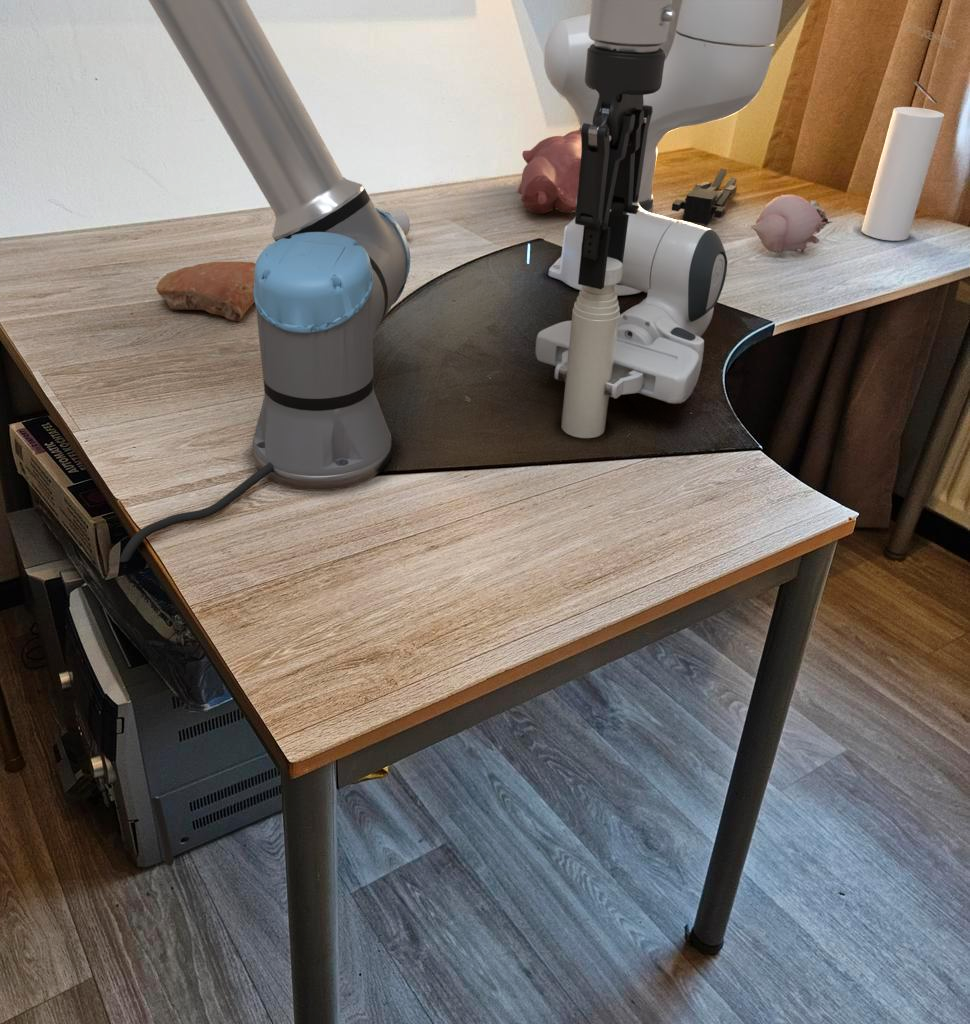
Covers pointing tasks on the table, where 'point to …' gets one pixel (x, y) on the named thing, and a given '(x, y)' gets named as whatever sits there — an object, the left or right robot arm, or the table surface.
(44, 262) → the table surface
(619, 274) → the cap
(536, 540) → the table surface
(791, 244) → the toy
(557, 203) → the pink faceted figure
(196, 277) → the ceramic shard
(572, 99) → the right robot arm
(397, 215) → the electric motor
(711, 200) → the toy
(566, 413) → the bottle
